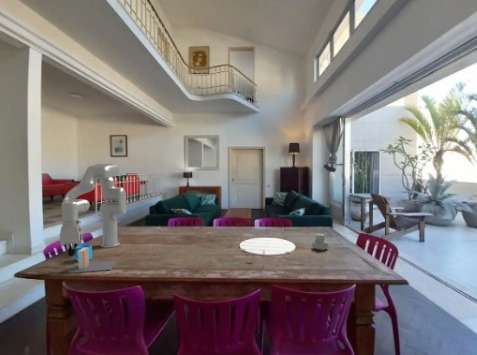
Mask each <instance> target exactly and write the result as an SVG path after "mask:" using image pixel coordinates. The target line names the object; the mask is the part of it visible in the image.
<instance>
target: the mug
mask: <svg viewBox="0 0 477 355" xmlns="http://www.w3.org/2000/svg"><path fill="white" fill-rule="evenodd" d="M92 246H93V245H92V244H89V243H85V244H81V245H77V246H76V251H75V254H74V258H75V260H76V261H77V262H78V251H79V250H81V249H82V248H86V247H89V259H90V260H91V258H93V247H92Z"/></svg>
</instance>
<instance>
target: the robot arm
mask: <svg viewBox="0 0 477 355" xmlns="http://www.w3.org/2000/svg"><path fill="white" fill-rule="evenodd" d="M119 172H120V166H119V165H117V164H115V163H96V164H94V165H89V166H88V167H87V168H86V170H85V172H84V174H83V176H82V178H81V180H80V183H78V184H77V185H75V186H74V187H73V188H71V189H70V190H69V191H68V192H67V193H66V194H65V197H64V198H63V200H62V203H61V215H62V216H61V219H62V220H61V221H62V222H61V223H62V225H61V227H60V232H59V242H60V246H61V247H64V248H66V249H67V254H68V257H73V256H75V254H76V248H77V246H79V245H83V232H82V228H81V222H82V221H81V220H79V213H85V212H87V211H88V210H89V209H90V206H91V204H90V201H89V200H87V199H83V198H78V197H80V196H82V195H84V194H87V193H89V192H92V191H94V189H95V188H96V185H97V183H98V181H100V189H101V197H102V199H103V200H105V201H106V202H103V203H101V205H100V208H99V209H100V210H99V211H100V213H101V214H100V215H101V219H102V220H101V222H102V243H100V247H101V248H106V249H108V248H114V247H118V246H120V245H121V243H120V241H118V219H117V218H116V216H124V215H125V214H126V213H127V208H128V205H127V194H126V189H125V188H123V187H122V186H115V181H114V180H115V179H114V177H117V176H118V175H119Z"/></svg>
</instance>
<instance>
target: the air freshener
mask: <svg viewBox="0 0 477 355" xmlns="http://www.w3.org/2000/svg"><path fill="white" fill-rule="evenodd" d="M311 247H312V248H314V249H315V250H318V251H324V250H326V249H328V248H329V243H328V241H326V240H325V234H324V233H316V234H315V239H314V240H313V241H312V242H311Z"/></svg>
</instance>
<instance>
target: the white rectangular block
mask: <svg viewBox="0 0 477 355" xmlns="http://www.w3.org/2000/svg"><path fill="white" fill-rule="evenodd" d="M89 262H90V260H89V247H86V248H82V249H81V250H79V251H78V261H77V263H79V269H85V268H86V267H87V266H88V265H89Z"/></svg>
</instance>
